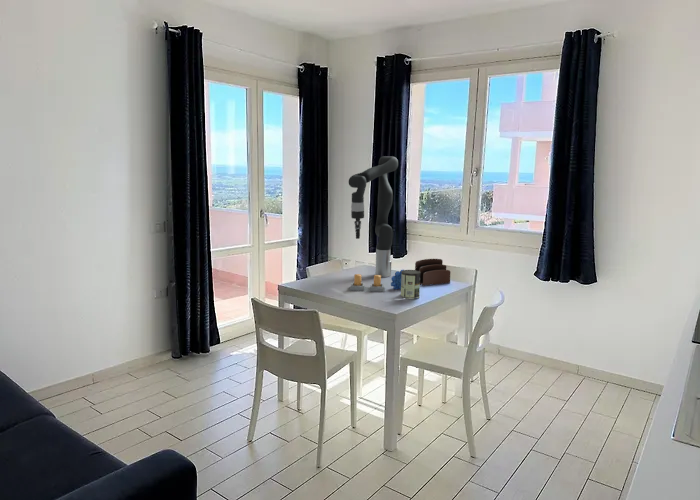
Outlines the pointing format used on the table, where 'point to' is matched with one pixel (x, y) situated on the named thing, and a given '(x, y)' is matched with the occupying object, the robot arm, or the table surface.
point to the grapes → (396, 280)
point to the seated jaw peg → (377, 280)
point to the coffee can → (410, 284)
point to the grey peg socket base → (367, 288)
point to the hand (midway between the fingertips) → (357, 237)
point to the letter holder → (432, 271)
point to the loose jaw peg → (357, 279)
